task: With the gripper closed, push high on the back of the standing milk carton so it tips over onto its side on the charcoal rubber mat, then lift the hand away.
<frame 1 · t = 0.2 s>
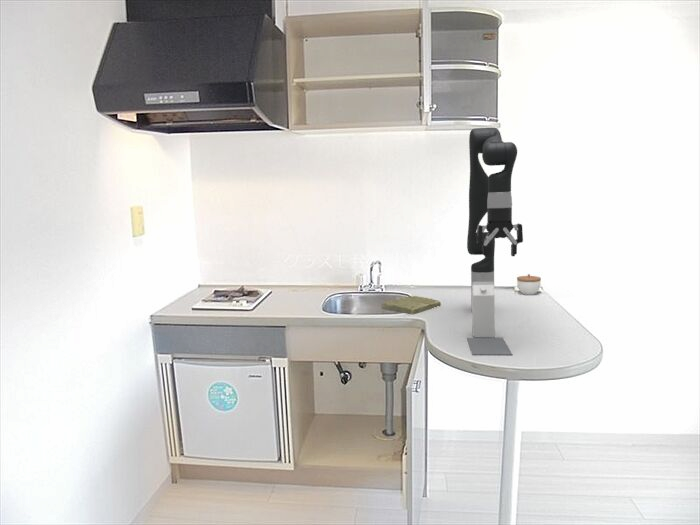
hand: (499, 256, 166), 29 cm above the worktop, fingers open, 8 cm apart
milk carton: (483, 335, 181), on the worktop
lidded jar: (528, 294, 246), on the worktop
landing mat: (488, 346, 167), on the worktop
olive green towel: (410, 308, 227), on the worktop
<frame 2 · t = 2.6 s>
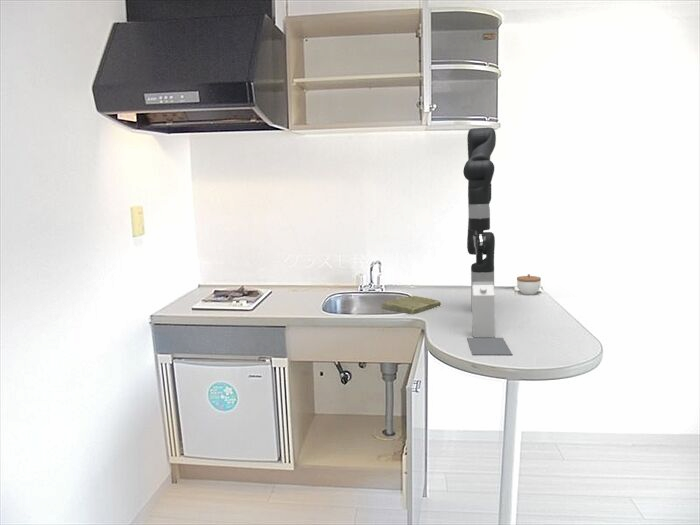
hand: (479, 264, 187), 24 cm above the worktop, fingers closed
nothing on the worktop moved.
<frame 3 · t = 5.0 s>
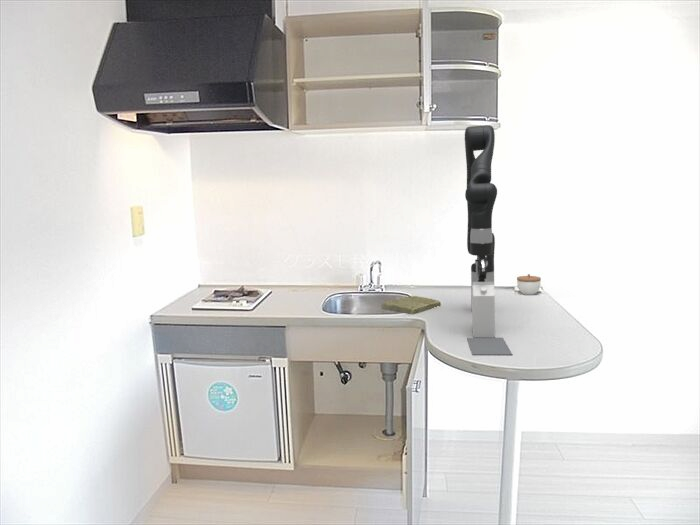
hand: (481, 289, 182), 16 cm above the worktop, fingers closed
milk carton: (483, 335, 181), on the worktop, touching gripper
everything else where it was.
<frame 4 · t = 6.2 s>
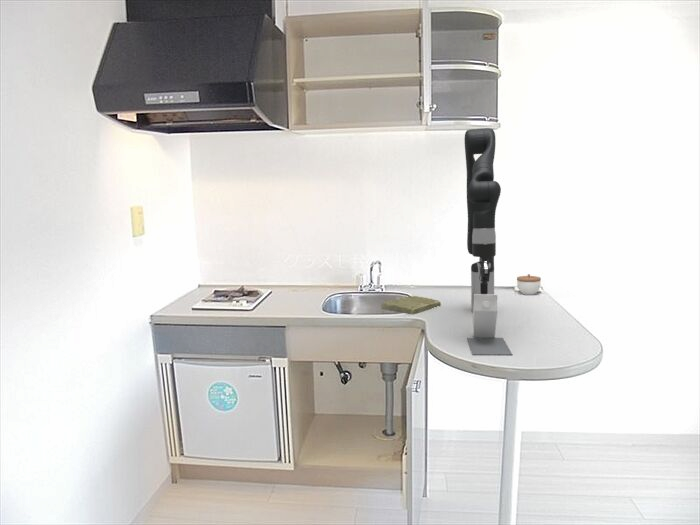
hand: (483, 293, 172), 16 cm above the worktop, fingers closed
milk carton: (483, 329, 180), point 2 cm above the worktop, touching gripper
everything else where it was.
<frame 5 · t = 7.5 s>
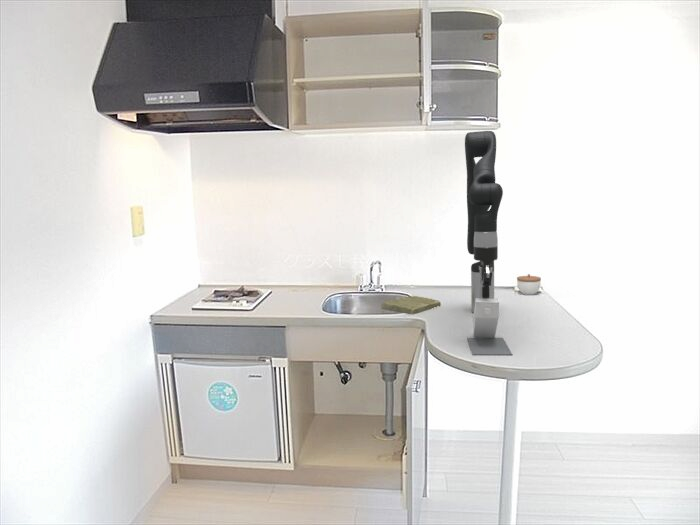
hand: (485, 297, 169), 15 cm above the worktop, fingers closed
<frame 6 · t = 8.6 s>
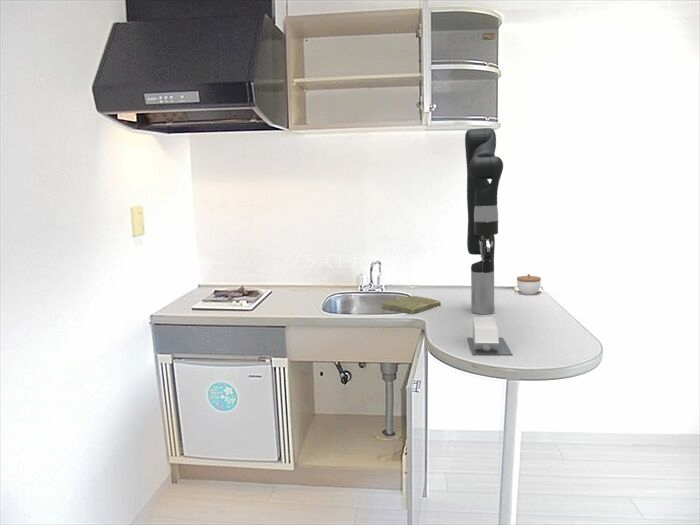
hand: (486, 272, 168), 24 cm above the worktop, fingers closed
milk carton: (483, 326, 177), point 4 cm above the worktop, touching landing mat
everything else where it was.
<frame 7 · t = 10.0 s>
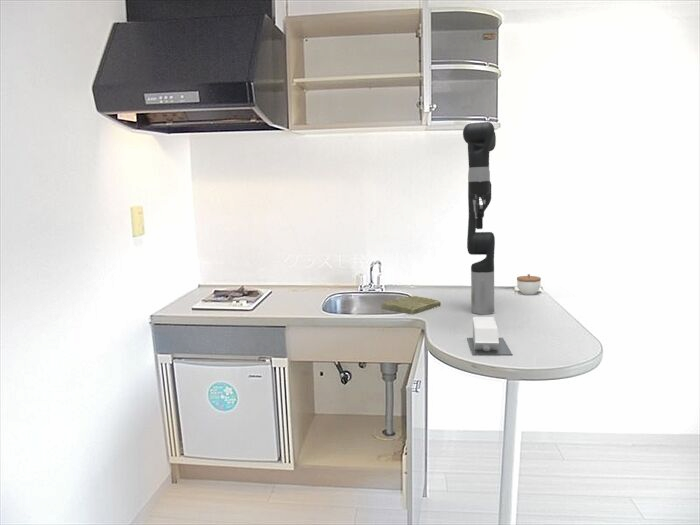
hand: (479, 228, 185), 37 cm above the worktop, fingers closed
nothing on the worktop moved.
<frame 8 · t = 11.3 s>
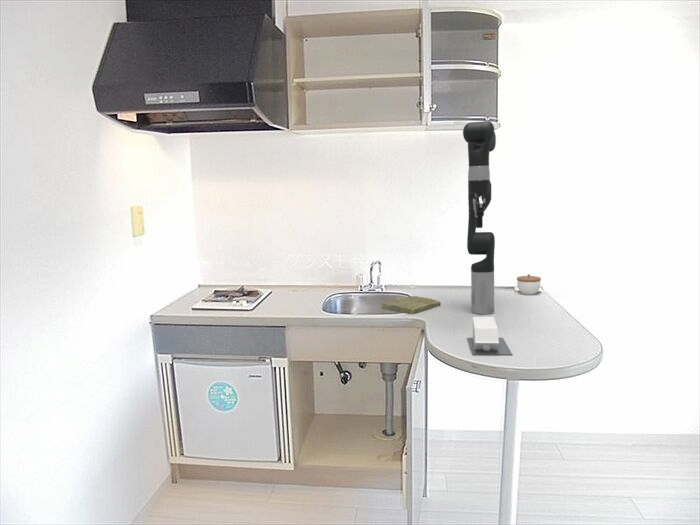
hand: (479, 227, 185), 37 cm above the worktop, fingers closed
nothing on the worktop moved.
at the end: milk carton tilted 90°; milk carton inside the target area (9.2 cm from its centre), point 3.9 cm above the worktop; milk carton touching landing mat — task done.
